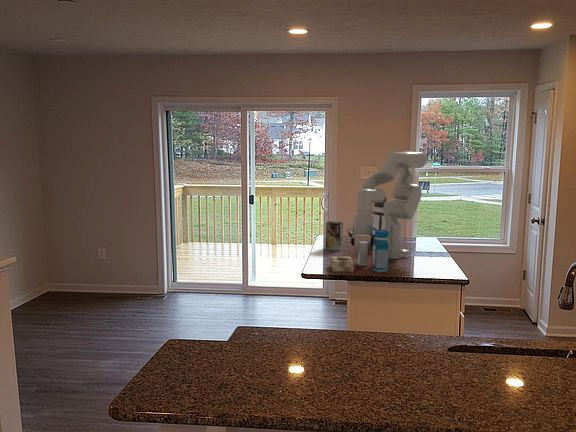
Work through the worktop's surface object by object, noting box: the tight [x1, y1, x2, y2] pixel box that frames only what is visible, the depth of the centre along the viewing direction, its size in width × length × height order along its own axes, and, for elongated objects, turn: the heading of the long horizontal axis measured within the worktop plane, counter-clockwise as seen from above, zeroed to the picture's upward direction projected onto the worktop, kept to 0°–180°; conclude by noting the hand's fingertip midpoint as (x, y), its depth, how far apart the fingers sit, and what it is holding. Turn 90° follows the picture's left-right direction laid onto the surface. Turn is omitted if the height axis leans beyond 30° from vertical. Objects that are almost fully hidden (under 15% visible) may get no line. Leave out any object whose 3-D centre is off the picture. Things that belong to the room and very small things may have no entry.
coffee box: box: [324, 220, 344, 252], centre depth 296 cm, size 9×6×16 cm
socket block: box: [330, 256, 355, 272], centre depth 255 cm, size 10×10×5 cm
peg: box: [357, 240, 369, 267], centre depth 263 cm, size 4×4×12 cm
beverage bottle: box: [371, 230, 390, 273], centre depth 253 cm, size 8×8×20 cm
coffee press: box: [373, 197, 388, 240], centre depth 310 cm, size 17×16×30 cm
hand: (362, 245), depth 262 cm, fingers open, 9 cm apart
